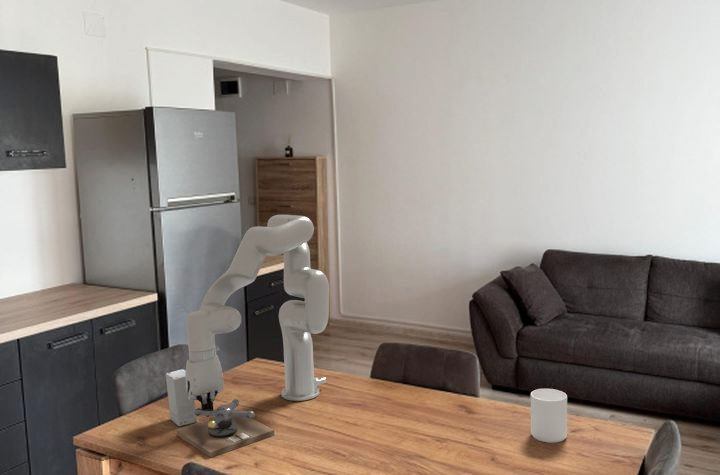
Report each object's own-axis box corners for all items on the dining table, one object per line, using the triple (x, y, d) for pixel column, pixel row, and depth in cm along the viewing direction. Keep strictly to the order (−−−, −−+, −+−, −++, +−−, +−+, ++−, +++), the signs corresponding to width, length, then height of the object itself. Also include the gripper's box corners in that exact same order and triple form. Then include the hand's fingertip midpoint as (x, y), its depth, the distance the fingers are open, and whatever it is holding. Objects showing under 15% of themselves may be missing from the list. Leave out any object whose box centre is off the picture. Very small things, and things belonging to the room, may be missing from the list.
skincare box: (197, 422, 199) (193, 374, 197) (177, 427, 196) (173, 379, 194) (187, 414, 206) (184, 367, 204) (168, 418, 202) (164, 371, 201)
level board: (238, 415, 203) (238, 410, 203) (274, 435, 188) (274, 429, 187) (177, 435, 190) (176, 429, 190) (210, 457, 175) (210, 451, 175)
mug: (530, 441, 177) (529, 399, 176) (532, 424, 189) (531, 384, 187) (567, 445, 174) (567, 402, 173) (566, 426, 186) (566, 386, 184)
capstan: (209, 415, 199) (208, 395, 199) (266, 418, 195) (265, 398, 195) (180, 441, 182) (178, 419, 181) (242, 445, 178) (241, 422, 177)
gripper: (219, 345, 198) (224, 404, 200) (172, 357, 188) (178, 419, 191) (232, 350, 192) (237, 410, 195) (184, 363, 182) (190, 426, 185)
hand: (208, 414), depth 193 cm, fingers closed
